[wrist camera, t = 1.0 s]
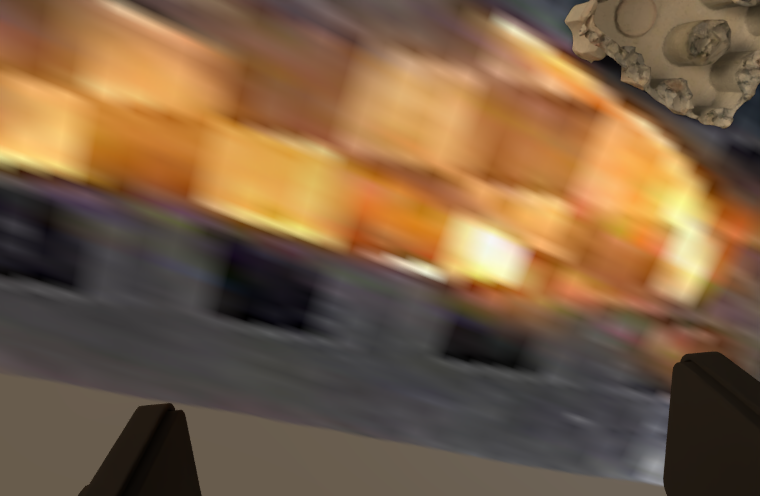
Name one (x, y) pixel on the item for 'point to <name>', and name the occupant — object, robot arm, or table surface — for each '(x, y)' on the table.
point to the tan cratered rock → (677, 50)
